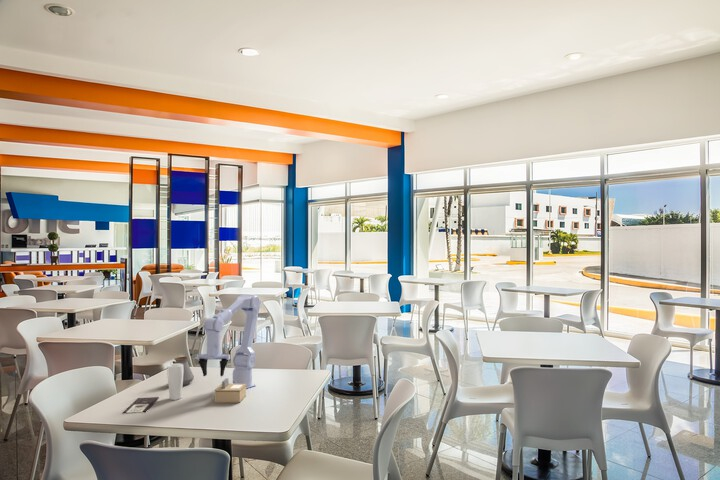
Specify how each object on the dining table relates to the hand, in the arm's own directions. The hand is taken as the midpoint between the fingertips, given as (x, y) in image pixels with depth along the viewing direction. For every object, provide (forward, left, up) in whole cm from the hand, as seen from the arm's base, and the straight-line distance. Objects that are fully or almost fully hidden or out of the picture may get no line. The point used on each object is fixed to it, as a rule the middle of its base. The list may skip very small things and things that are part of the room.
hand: (213, 375), depth 209 cm
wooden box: (+6, +5, -11) cm, 13 cm away
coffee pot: (-30, 0, -11) cm, 32 cm away
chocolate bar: (-18, -24, -11) cm, 32 cm away
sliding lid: (+6, +5, -5) cm, 9 cm away
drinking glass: (-15, -10, -11) cm, 21 cm away
